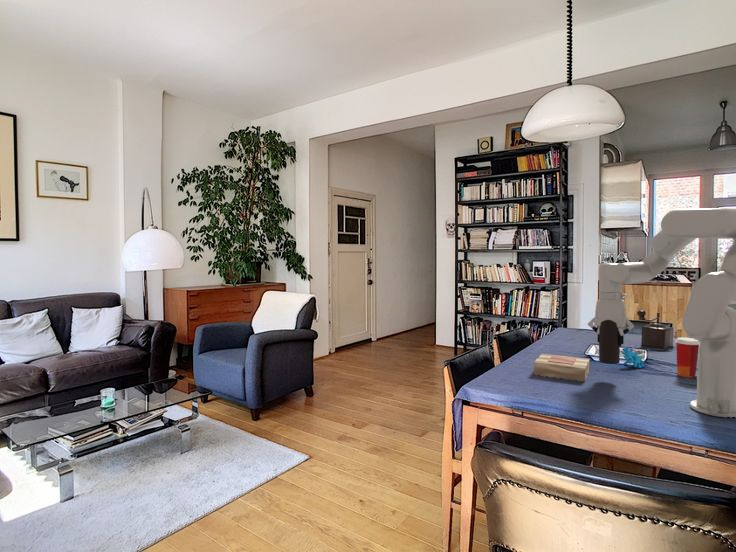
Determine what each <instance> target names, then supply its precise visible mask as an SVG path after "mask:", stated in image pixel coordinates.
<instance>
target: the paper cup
mask: <svg viewBox="0 0 736 552" xmlns="http://www.w3.org/2000/svg"><path fill="white" fill-rule="evenodd" d="M674 342H675V346H676V351H675V352H676V369H677V370H676V372H677V375H678V376H679V377H683V378H695V377H696V376H697V375H696V374H697V368H698V351H699V344H700V340H696V339H693V338H691V337H677V338H676V339H675V341H674Z"/></svg>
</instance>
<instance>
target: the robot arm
mask: <svg viewBox="0 0 736 552" xmlns="http://www.w3.org/2000/svg"><path fill="white" fill-rule="evenodd" d="M660 228H661V230H660V231H659V232H657V233H656V234H655V235H654V236H652V237H651V239H650V243H649V244H650V246H651V249H652V251H651V252H650V253H649V254H648V255H647V256H646V257H644V258H643V259H642V260H640V261H639V262H638V261H636V262H621V263H616V262H612V263H611V262H609V263H608V262H607V263H601V264H599V266H598V299H597V300H596V302H595V303H596V304H595V312H594V317H593V318H592V319H590V321H589V322H587V326H589V328H591V329H592V330H593V331H594V333H596V334H597V343H599V327H600V326H601V322H602V321H605V320H612V321H614V322H616V324H617V327H618V330H619V332H620V336H619V347H620V348H621V347H622V345H624V341H625V339H624V337H625V335H626V334H627V333H628V332H630V331H631V330H633V329H634V327H635V325H634V324H633V323H632V322H631V321H630V320H629V318H627V308H626V302H625V300H624V299H625V298H627V295H628V294H627V293H624V292H623V285H635V284H644V283H647V282H650V281H652V280H653V279H655V278H656V277H657V276H658V275H660V274H661V273H662V272H663V271H664V270H666V269H667V268H668V267H669V265H670V263H671V262H672V259H673V257H674V256H676V255H677V254H678V253H679V252H681V251H682V250H683V249H685V248H686V247H687V246H689V245H690V244H691V243H693V242H694V241H695V240H697V239H717V240H718V239H722V240H723V239H724V240H726V239H727V240H728V239H732V240H733V242H732V244H731V246H730V247H729V248H728V249H727V251H726V252H725V254H724V257H723V261H722V263H721V266H720V268H719V270H718V271H715V272H714V271H713V272H709V273H705V274H704V275H702V276H701V277H700V278H698V280H697V281H696V282H695V284H694V286H693V288H692V290H691V293H690V295H689V299H688V302H687V304H686V307H685V310H684V313H683V317H682V328H683V330H684V332H685V334H686V335H687V336H688V337H689V338H693V339H696V340H699V343H700V344H699V348H698V359H697V373H696V374H697V375H696V376H697V377H696V399H695V400H694V399H693V400H691V401H690V402H689V407H690V408H691V409H692V410H694V411H696V412H699V413H702V414H705V415H708V416H709V415H710V416H713V417H719V418H727V417H730V418H731V419H732V417H735V418H736V309H735V308H733V307H731V306H729V305H736V208H725V207H719V208H718V207H717V208H714V207H713V208H712V207H711V208H677V209H672V210H671V211H669V212H667V213H665V215H663V217H662V220H661V223H660ZM594 324H595V325H594ZM626 326H627V327H626ZM623 328H625V329H623ZM730 418H729V419H730Z"/></svg>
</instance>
